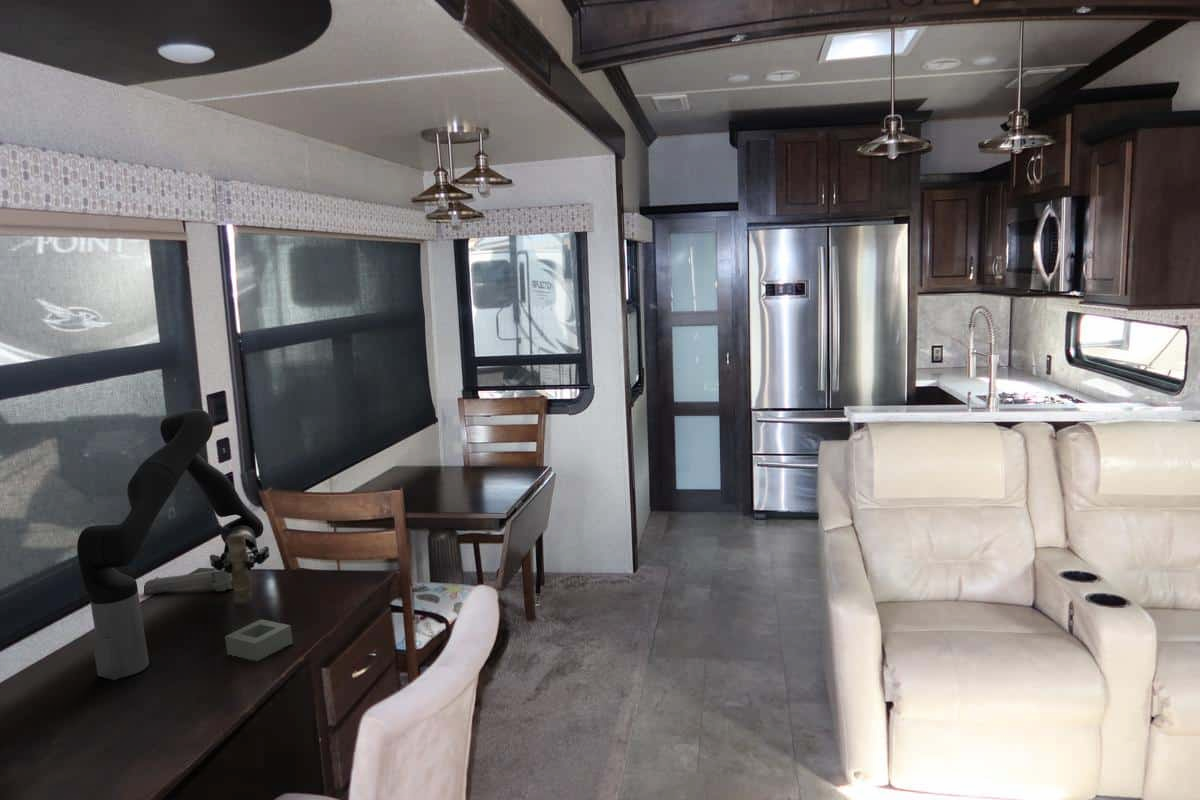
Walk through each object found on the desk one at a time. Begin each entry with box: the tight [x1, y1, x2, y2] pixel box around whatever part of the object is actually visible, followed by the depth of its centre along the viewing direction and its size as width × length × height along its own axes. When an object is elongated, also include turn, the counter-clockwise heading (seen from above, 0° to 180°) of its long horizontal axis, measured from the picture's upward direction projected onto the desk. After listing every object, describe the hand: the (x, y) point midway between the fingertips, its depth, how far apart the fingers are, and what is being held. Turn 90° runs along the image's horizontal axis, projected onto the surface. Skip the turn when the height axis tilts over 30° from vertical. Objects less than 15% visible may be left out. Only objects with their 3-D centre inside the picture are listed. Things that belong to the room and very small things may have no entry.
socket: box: [224, 619, 294, 661], centre depth 197 cm, size 10×10×4 cm
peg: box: [227, 533, 253, 604], centre depth 203 cm, size 4×4×16 cm
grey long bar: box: [144, 568, 233, 595], centre depth 237 cm, size 5×7×25 cm
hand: (239, 567), depth 201 cm, fingers closed on peg, 3 cm apart
